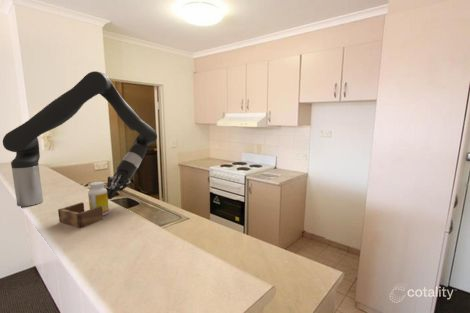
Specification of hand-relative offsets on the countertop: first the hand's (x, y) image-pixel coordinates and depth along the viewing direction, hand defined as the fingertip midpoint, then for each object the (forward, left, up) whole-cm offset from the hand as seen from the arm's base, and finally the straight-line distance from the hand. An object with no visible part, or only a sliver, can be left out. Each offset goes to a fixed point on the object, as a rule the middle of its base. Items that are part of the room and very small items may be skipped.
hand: (108, 198), depth 101 cm
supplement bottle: (0, -4, -5) cm, 7 cm away
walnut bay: (0, -12, -5) cm, 13 cm away
